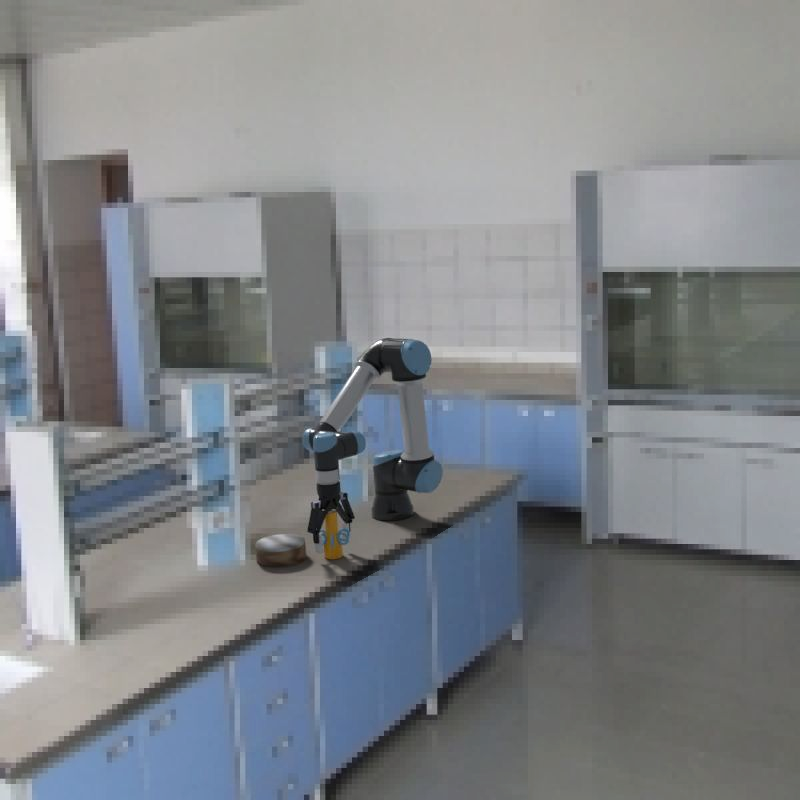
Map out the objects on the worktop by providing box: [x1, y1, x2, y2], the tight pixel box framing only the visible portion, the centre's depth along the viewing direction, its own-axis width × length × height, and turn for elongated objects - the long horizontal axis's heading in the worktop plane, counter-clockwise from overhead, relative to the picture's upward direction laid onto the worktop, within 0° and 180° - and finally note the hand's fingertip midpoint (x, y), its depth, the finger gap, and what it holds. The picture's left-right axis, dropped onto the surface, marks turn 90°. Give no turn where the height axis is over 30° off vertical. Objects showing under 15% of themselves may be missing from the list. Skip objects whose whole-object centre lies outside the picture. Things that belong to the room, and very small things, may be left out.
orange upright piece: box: [320, 509, 351, 560], centre depth 346 cm, size 12×10×15 cm
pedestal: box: [254, 533, 307, 568], centre depth 348 cm, size 16×16×6 cm
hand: (333, 547), depth 347 cm, fingers closed on orange upright piece, 11 cm apart
